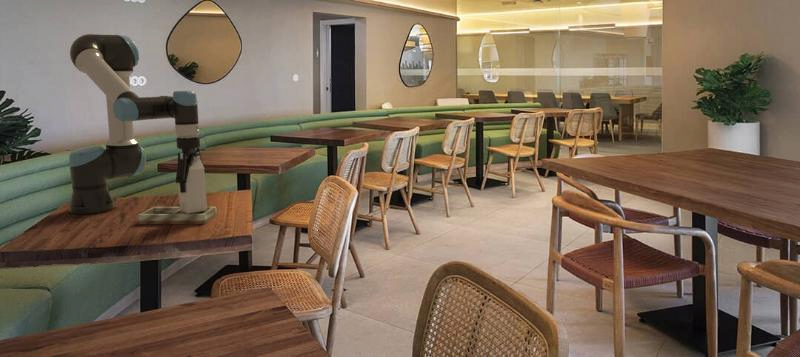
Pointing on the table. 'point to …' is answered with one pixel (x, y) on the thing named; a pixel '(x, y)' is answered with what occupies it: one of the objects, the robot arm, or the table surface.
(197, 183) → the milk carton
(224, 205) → the table surface
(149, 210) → the board
